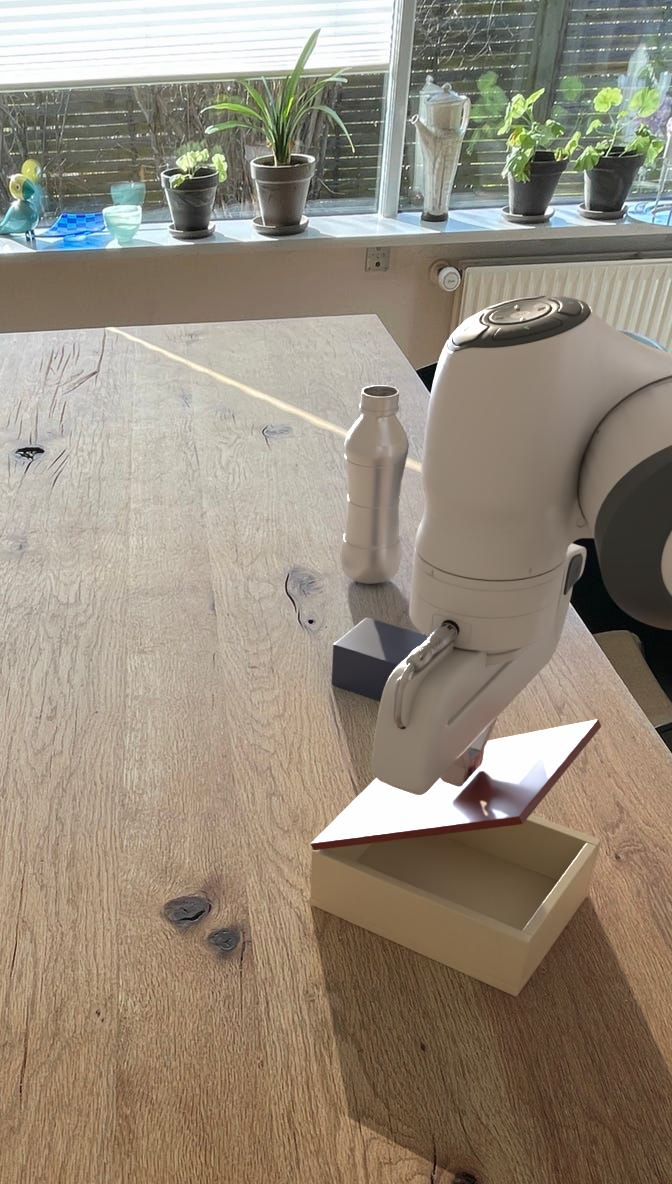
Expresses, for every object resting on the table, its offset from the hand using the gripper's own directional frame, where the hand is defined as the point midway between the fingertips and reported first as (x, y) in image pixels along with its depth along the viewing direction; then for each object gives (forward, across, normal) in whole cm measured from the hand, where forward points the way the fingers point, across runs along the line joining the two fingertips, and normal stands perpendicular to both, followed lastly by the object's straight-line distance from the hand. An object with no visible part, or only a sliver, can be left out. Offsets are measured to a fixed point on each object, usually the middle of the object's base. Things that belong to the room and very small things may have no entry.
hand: (460, 774), depth 78 cm
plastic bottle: (+12, +42, +31) cm, 53 cm away
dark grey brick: (+11, +24, +18) cm, 32 cm away
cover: (+1, 0, 0) cm, 2 cm away
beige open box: (+11, 0, 0) cm, 11 cm away
